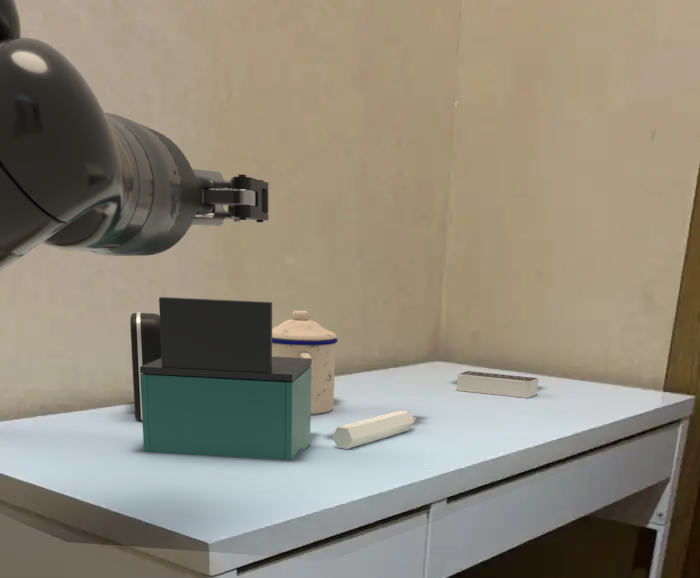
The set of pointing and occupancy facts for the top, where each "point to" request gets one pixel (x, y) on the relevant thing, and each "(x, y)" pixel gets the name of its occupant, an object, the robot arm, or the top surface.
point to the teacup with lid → (309, 355)
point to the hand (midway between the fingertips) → (187, 202)
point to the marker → (372, 429)
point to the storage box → (226, 415)
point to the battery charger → (143, 349)
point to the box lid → (220, 341)
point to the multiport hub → (497, 384)
